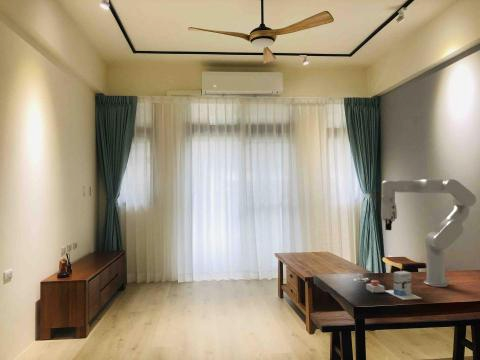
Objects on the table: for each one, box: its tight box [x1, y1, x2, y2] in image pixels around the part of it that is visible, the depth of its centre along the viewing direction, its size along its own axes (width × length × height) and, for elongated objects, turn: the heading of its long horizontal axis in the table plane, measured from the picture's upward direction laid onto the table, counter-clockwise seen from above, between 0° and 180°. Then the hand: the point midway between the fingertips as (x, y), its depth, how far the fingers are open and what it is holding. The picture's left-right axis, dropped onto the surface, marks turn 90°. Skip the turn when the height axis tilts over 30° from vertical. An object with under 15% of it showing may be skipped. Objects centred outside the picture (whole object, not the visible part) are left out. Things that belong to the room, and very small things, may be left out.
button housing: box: [365, 283, 385, 293], centre depth 200 cm, size 7×7×3 cm
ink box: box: [393, 270, 412, 296], centre depth 193 cm, size 8×5×12 cm, turn 115°
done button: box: [370, 279, 380, 286], centre depth 200 cm, size 4×4×5 cm
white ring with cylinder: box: [353, 273, 370, 283], centre depth 222 cm, size 9×8×4 cm
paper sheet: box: [384, 289, 423, 301], centre depth 192 cm, size 11×16×1 cm
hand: (388, 230), depth 219 cm, fingers closed
